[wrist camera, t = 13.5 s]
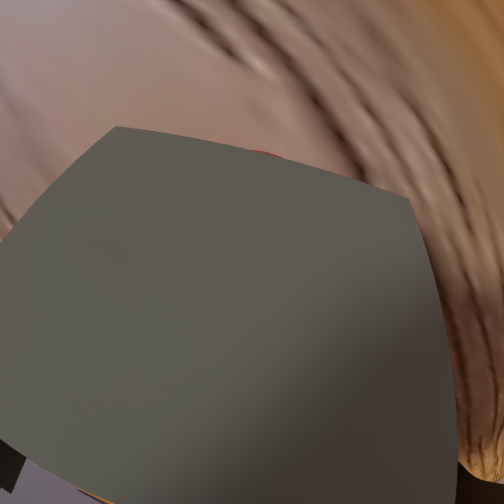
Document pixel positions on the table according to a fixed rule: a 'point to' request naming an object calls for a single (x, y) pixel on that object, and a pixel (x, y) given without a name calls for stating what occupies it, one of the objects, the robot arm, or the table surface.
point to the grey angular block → (224, 332)
